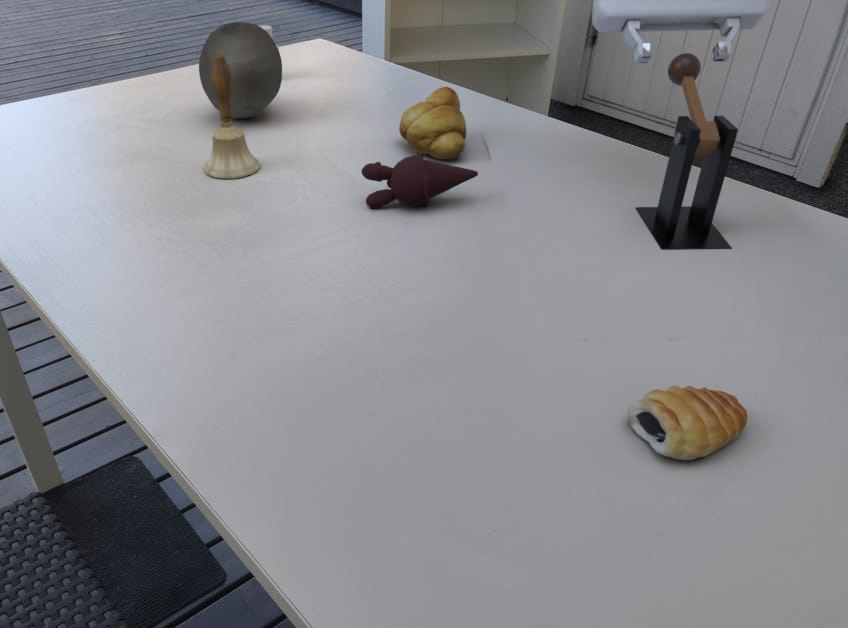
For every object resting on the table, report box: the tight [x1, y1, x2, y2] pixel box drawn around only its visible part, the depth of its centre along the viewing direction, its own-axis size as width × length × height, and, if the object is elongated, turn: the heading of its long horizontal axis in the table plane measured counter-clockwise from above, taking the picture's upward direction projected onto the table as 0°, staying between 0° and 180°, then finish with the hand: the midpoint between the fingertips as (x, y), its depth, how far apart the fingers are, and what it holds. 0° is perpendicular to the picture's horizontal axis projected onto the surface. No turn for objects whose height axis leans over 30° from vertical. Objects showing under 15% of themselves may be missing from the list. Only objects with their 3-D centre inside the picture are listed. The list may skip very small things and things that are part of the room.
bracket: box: [634, 115, 739, 251], centre depth 86 cm, size 11×8×14 cm
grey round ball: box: [198, 21, 283, 120], centre depth 123 cm, size 14×14×15 cm
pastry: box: [627, 385, 748, 461], centre depth 61 cm, size 9×7×4 cm
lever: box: [667, 52, 720, 156], centre depth 85 cm, size 14×4×4 cm, turn 179°
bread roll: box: [398, 86, 468, 160], centre depth 111 cm, size 13×10×8 cm
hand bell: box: [203, 54, 262, 180], centre depth 105 cm, size 8×8×16 cm
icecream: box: [361, 152, 479, 209], centre depth 97 cm, size 7×7×15 cm
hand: (682, 60), depth 88 cm, fingers open, 8 cm apart
